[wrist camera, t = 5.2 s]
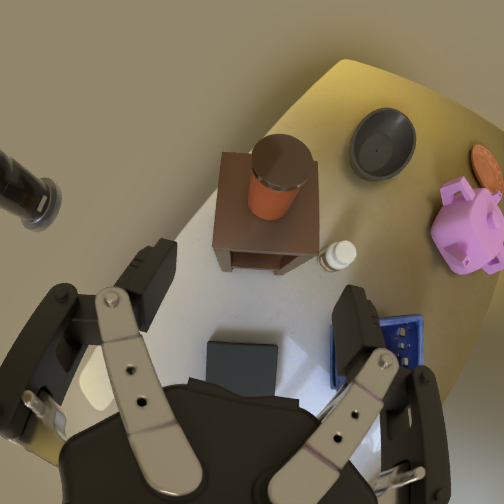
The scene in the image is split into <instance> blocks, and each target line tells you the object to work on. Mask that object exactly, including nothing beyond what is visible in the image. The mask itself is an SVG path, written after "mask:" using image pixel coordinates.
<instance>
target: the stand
mask: <svg viewBox="0 0 504 504" xmlns="http://www.w3.org/2000/svg"><path fill="white" fill-rule="evenodd" d="M251 155H252V154H246V153H232V152H230V153H229V152H222V157H221V166H220V174H219V183H218V192H217V202H216V212H215V222H214V233H213V244H212V247H213V250H214V252H215V255H216V257H217V260H218V262H219V265H220V267H221V270H222V271H225V272H232V268H243V269H258V270H274V275H284V274H285V273H287V272H289V271H291V270H292V269H294V268H296V267H298V266H299V265H301V264H303V263H305V262H306V261H308V260H310V259H311V258H313V257H315V256H317V255H319V186H318V162H317V161H313V170H312V173H311V175H310V176H309V178H308V180H307V181H306V182H305V184H303V186H302V187H301V189H300V191H299V193H298V194H297V196H296V198H295V200H294V201H293V203H292V205H291V206H290V208H289V210H288V212H287V213H286V214H285V215H284V216H282V217H281V218H279V219H275V220H265V219H262V218H259V217H258V216H256V215H255V214H254V213H253V212H252V211H251V209H250V208H249V205H248V201H247V196H248V188H249V181H250V173H251Z"/></svg>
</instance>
